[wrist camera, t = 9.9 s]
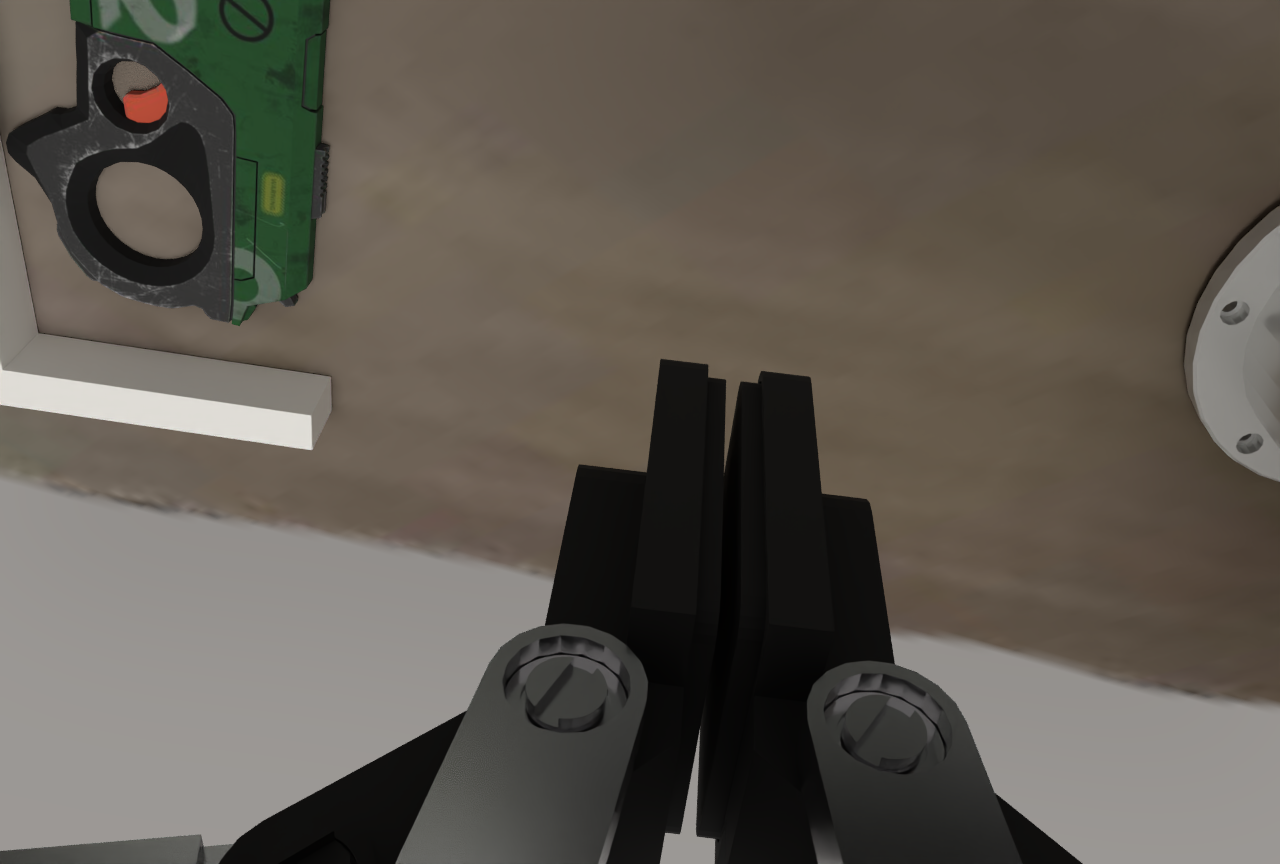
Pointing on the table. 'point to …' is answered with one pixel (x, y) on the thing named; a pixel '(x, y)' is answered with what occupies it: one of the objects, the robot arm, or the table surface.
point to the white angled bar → (143, 373)
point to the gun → (195, 145)
